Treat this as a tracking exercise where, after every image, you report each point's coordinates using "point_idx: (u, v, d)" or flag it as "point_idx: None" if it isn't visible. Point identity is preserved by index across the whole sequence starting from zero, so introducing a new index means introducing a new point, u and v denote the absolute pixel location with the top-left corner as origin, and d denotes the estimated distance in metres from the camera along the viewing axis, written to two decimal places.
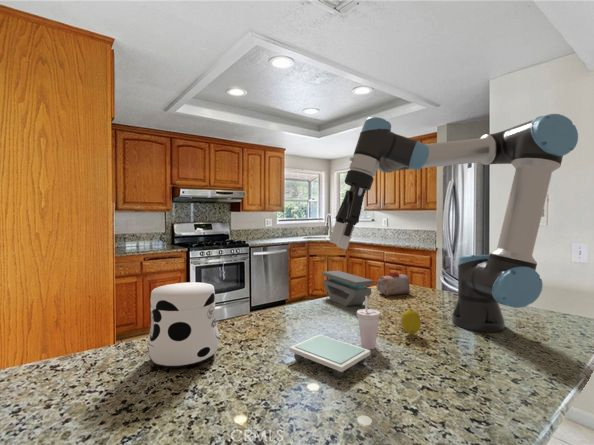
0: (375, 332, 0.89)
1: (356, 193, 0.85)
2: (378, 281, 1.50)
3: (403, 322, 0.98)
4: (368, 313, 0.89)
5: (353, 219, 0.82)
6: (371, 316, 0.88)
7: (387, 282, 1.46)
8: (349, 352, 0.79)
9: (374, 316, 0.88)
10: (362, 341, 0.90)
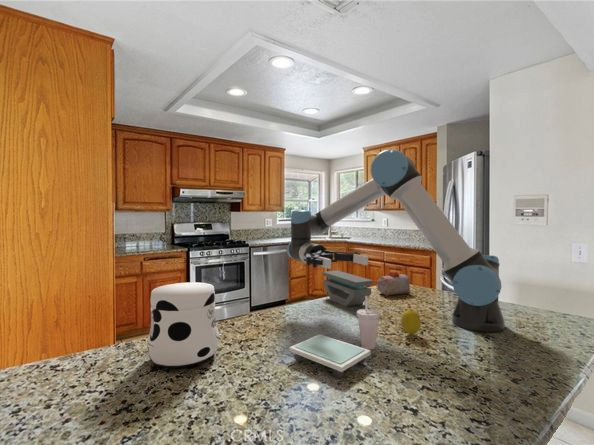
0: (375, 332, 0.89)
1: (305, 260, 1.08)
2: (378, 281, 1.50)
3: (403, 322, 0.98)
4: (368, 313, 0.89)
5: (307, 261, 1.01)
6: (371, 316, 0.88)
7: (387, 282, 1.46)
8: (349, 352, 0.79)
9: (374, 316, 0.88)
10: (362, 341, 0.90)
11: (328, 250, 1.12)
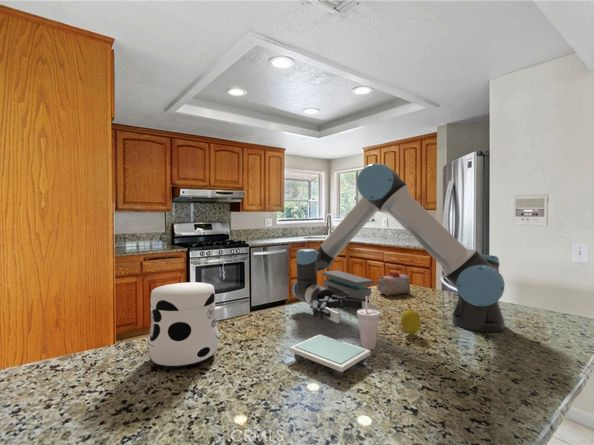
0: (375, 332, 0.89)
1: (311, 307, 1.05)
2: (378, 281, 1.50)
3: (403, 322, 0.98)
4: (368, 313, 0.89)
5: (313, 312, 0.97)
6: (371, 316, 0.88)
7: (388, 282, 1.45)
8: (349, 352, 0.79)
9: (374, 316, 0.88)
10: (362, 341, 0.90)
11: None
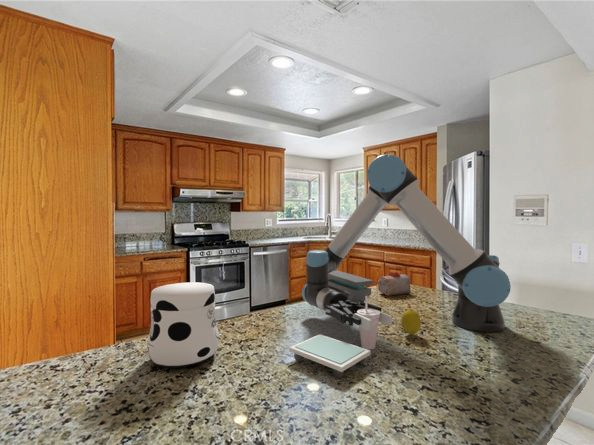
0: (375, 332, 0.89)
1: (329, 314, 0.97)
2: (379, 281, 1.50)
3: (403, 322, 0.98)
4: (368, 313, 0.89)
5: (342, 319, 0.90)
6: (371, 316, 0.88)
7: (388, 282, 1.45)
8: (349, 352, 0.79)
9: (374, 316, 0.88)
10: (362, 341, 0.90)
11: (350, 300, 1.02)
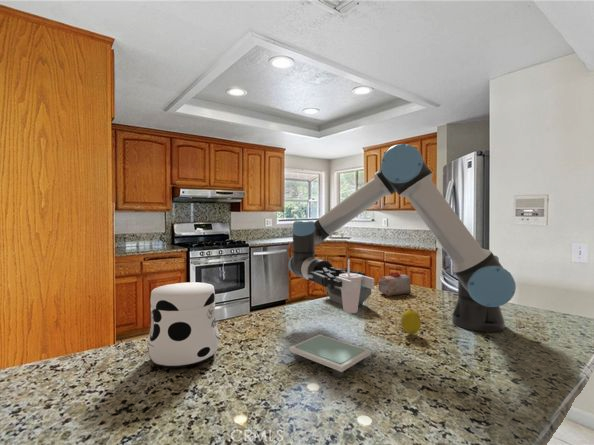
0: (357, 295, 0.87)
1: (311, 279, 0.95)
2: (379, 281, 1.49)
3: (403, 322, 0.98)
4: (350, 276, 0.87)
5: (324, 282, 0.88)
6: (353, 278, 0.85)
7: (389, 282, 1.45)
8: (349, 352, 0.79)
9: (356, 278, 0.86)
10: (344, 305, 0.88)
11: (334, 267, 0.99)
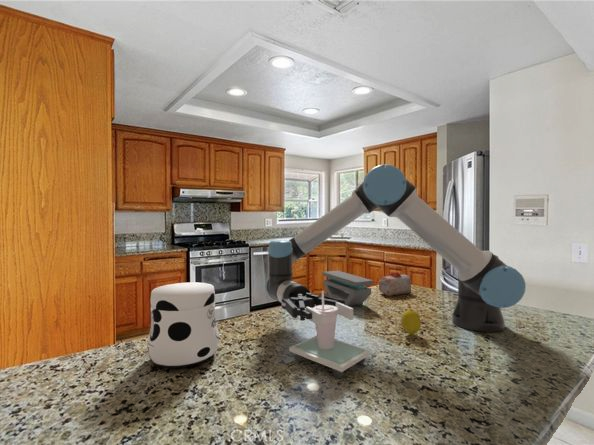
0: (332, 330, 0.80)
1: (284, 308, 0.88)
2: (380, 281, 1.49)
3: (403, 322, 0.98)
4: (324, 309, 0.81)
5: (293, 313, 0.81)
6: (327, 313, 0.79)
7: (390, 282, 1.45)
8: (349, 352, 0.79)
9: (330, 313, 0.79)
10: (318, 341, 0.81)
11: (310, 293, 0.93)
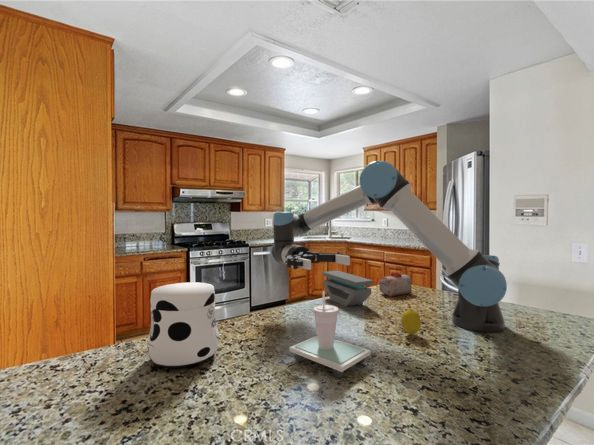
0: (332, 331, 0.80)
1: (286, 262, 1.06)
2: (381, 282, 1.49)
3: (403, 322, 0.98)
4: (325, 310, 0.81)
5: (287, 263, 0.99)
6: (327, 313, 0.79)
7: (390, 283, 1.45)
8: (349, 352, 0.79)
9: (331, 313, 0.79)
10: (319, 341, 0.81)
11: None
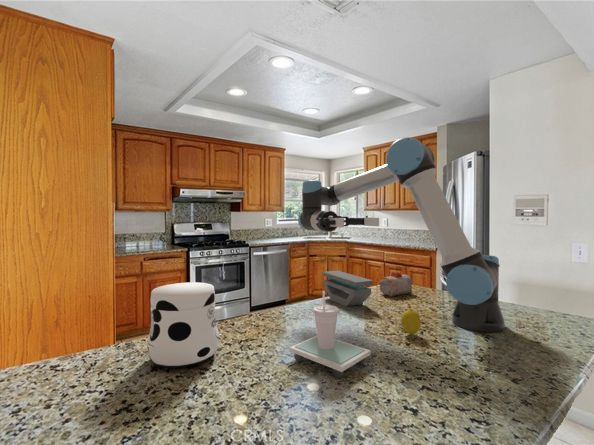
0: (333, 331, 0.80)
1: (317, 224, 1.12)
2: (381, 282, 1.49)
3: (403, 322, 0.98)
4: (325, 310, 0.81)
5: (320, 222, 1.05)
6: (327, 313, 0.79)
7: (391, 283, 1.44)
8: (349, 352, 0.79)
9: (331, 313, 0.79)
10: (319, 341, 0.81)
11: None
